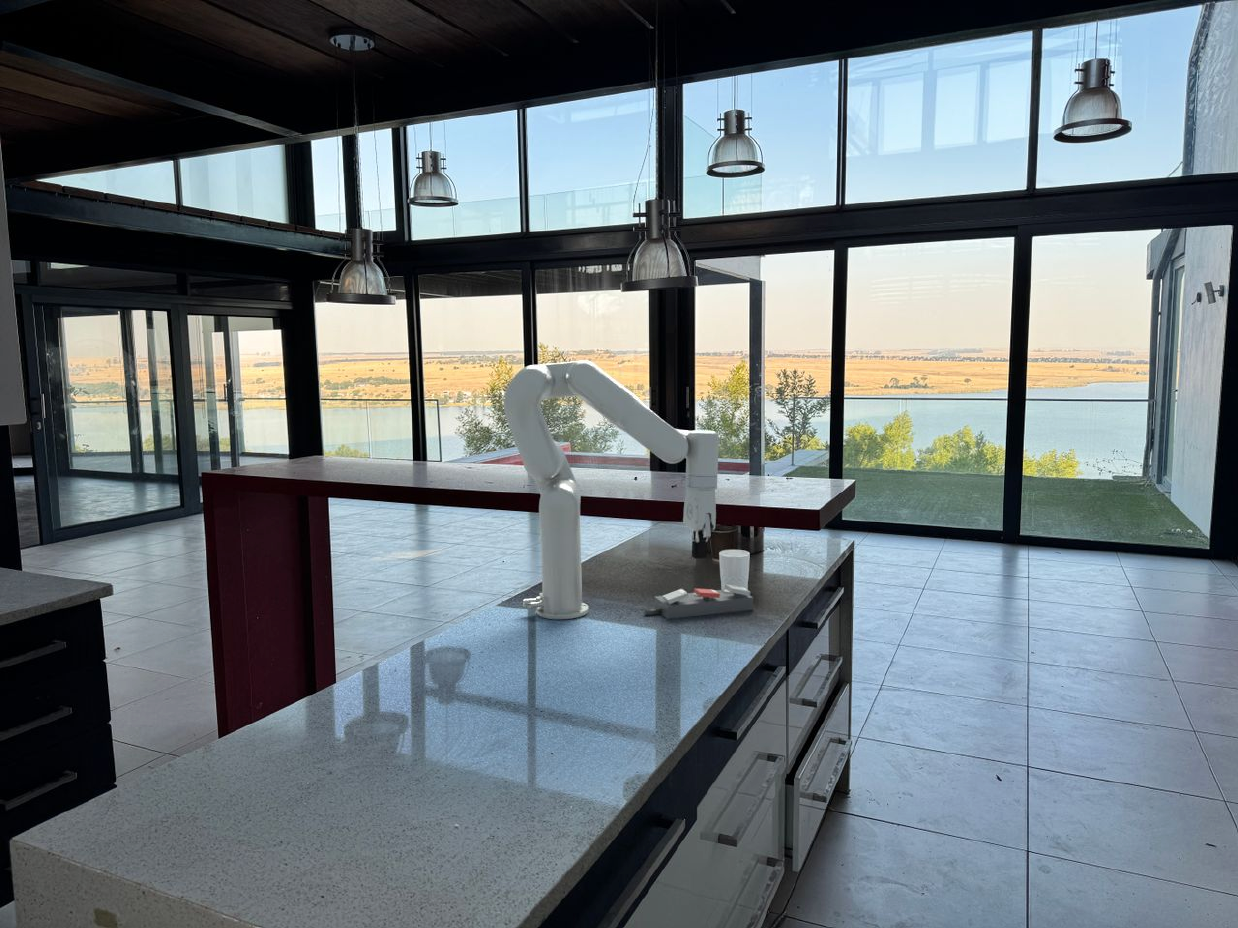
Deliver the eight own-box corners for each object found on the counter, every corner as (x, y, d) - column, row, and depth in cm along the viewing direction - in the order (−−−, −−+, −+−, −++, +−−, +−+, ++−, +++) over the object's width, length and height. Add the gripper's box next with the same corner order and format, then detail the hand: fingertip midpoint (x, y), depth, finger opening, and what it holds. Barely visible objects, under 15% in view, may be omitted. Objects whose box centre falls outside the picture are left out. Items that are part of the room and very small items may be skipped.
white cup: (751, 594, 221) (751, 556, 219) (720, 594, 221) (720, 556, 219) (747, 586, 228) (747, 549, 227) (717, 586, 229) (717, 549, 227)
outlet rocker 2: (700, 596, 203) (700, 592, 203) (693, 592, 207) (694, 587, 207) (719, 597, 205) (720, 593, 205) (712, 593, 208) (713, 589, 208)
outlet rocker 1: (669, 604, 201) (668, 599, 201) (663, 599, 205) (662, 595, 205) (688, 596, 202) (687, 592, 202) (682, 592, 206) (681, 588, 206)
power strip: (651, 620, 200) (651, 605, 199) (639, 610, 208) (639, 595, 208) (753, 609, 207) (753, 595, 207) (737, 599, 216) (737, 585, 215)
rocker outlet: (731, 592, 205) (732, 587, 205) (724, 588, 209) (725, 583, 209) (749, 595, 207) (750, 591, 207) (742, 591, 211) (743, 587, 211)
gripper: (675, 478, 210) (673, 551, 213) (698, 487, 196) (695, 565, 198) (704, 477, 212) (702, 550, 215) (728, 486, 198) (725, 564, 200)
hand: (699, 557), depth 206 cm, fingers closed
